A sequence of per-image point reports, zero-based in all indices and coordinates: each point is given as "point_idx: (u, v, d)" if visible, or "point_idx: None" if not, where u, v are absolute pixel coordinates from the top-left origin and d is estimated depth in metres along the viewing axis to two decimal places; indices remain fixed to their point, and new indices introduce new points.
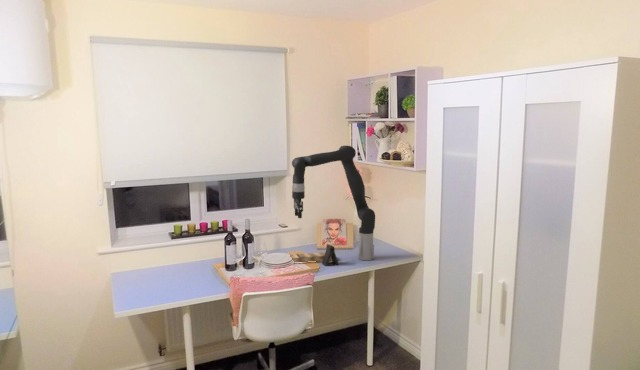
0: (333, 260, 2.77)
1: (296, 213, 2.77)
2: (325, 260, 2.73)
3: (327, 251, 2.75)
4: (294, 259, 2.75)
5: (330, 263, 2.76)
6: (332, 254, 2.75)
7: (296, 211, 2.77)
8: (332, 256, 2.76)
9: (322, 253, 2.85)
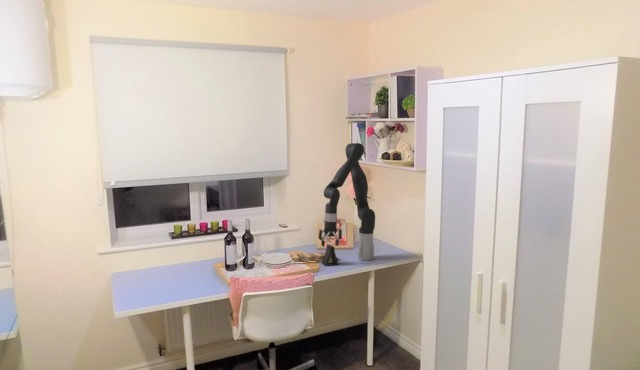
0: (333, 260, 2.77)
1: None
2: (325, 260, 2.73)
3: (327, 251, 2.75)
4: (294, 259, 2.75)
5: (330, 263, 2.76)
6: (332, 254, 2.75)
7: None
8: (332, 256, 2.76)
9: (322, 253, 2.85)
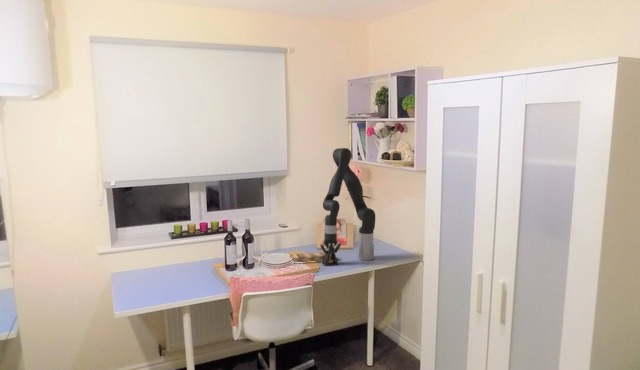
0: (333, 260, 2.76)
1: None
2: (325, 260, 2.74)
3: None
4: (294, 259, 2.75)
5: (330, 263, 2.76)
6: None
7: None
8: None
9: (322, 253, 2.85)
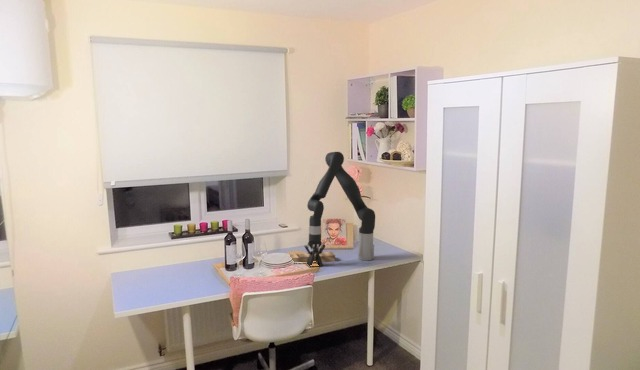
0: (318, 261, 2.73)
1: None
2: (309, 261, 2.71)
3: None
4: (294, 259, 2.75)
5: None
6: None
7: None
8: (317, 257, 2.73)
9: (322, 253, 2.85)
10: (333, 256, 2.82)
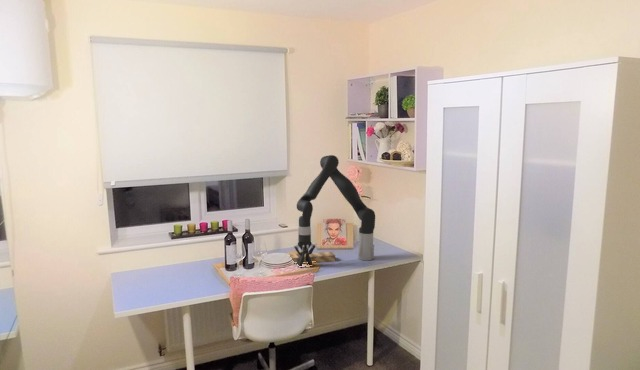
0: (308, 262, 2.72)
1: None
2: (299, 262, 2.69)
3: None
4: (294, 259, 2.75)
5: None
6: None
7: None
8: None
9: (322, 253, 2.85)
10: (333, 256, 2.82)
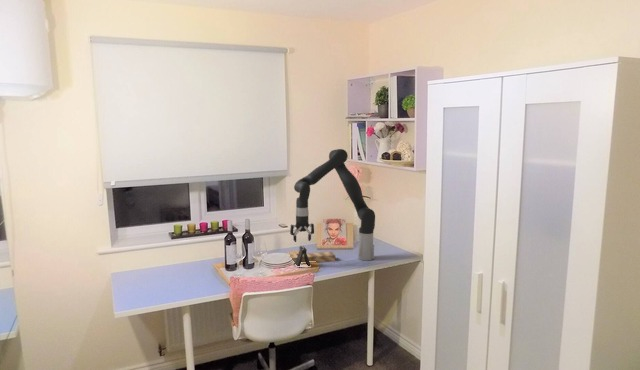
0: (306, 262, 2.72)
1: None
2: (297, 262, 2.69)
3: (299, 253, 2.70)
4: (294, 259, 2.75)
5: None
6: (305, 256, 2.70)
7: None
8: (305, 258, 2.71)
9: (322, 253, 2.85)
10: (333, 256, 2.82)
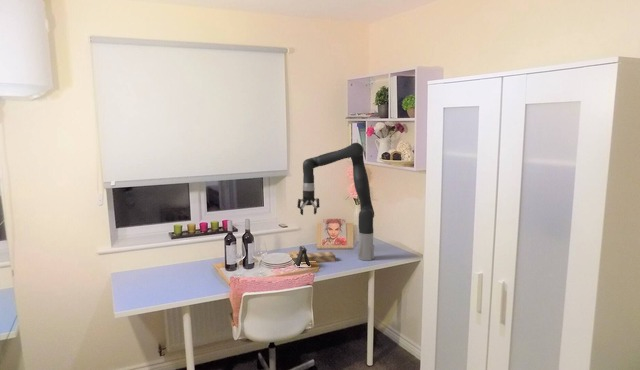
0: (306, 262, 2.72)
1: None
2: (297, 262, 2.69)
3: (299, 253, 2.70)
4: (294, 259, 2.75)
5: None
6: (305, 256, 2.70)
7: None
8: (305, 258, 2.71)
9: (322, 253, 2.85)
10: (333, 256, 2.82)
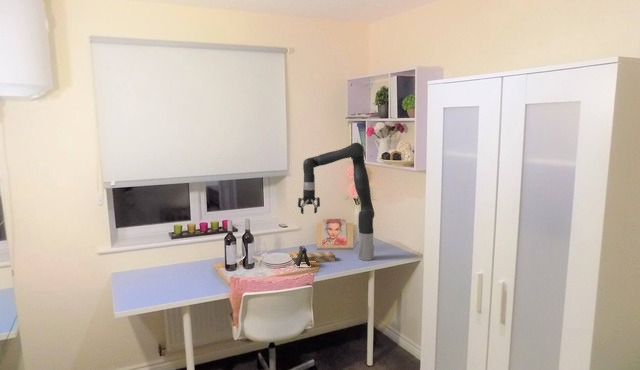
0: (306, 262, 2.72)
1: None
2: (297, 262, 2.69)
3: (299, 253, 2.70)
4: (294, 259, 2.75)
5: None
6: (305, 256, 2.70)
7: None
8: (305, 258, 2.71)
9: (322, 253, 2.85)
10: (333, 256, 2.82)
